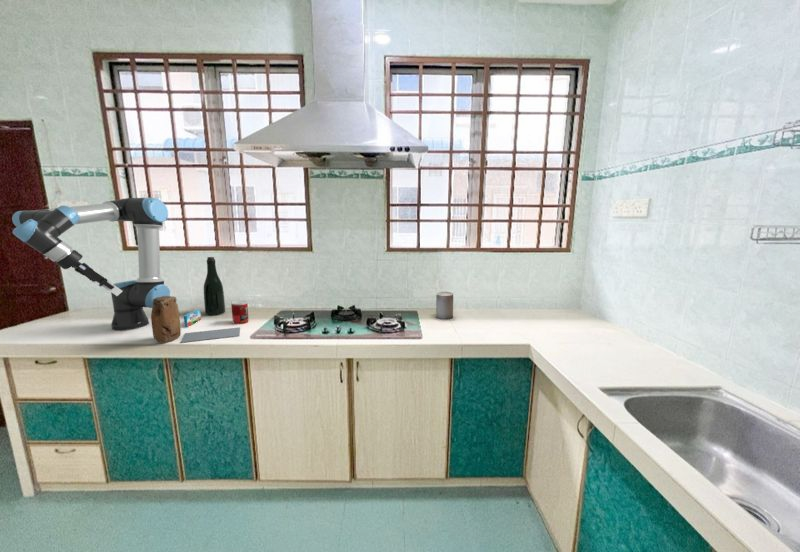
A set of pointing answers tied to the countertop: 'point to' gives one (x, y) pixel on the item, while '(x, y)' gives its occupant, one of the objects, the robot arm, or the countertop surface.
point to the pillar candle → (444, 305)
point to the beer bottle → (213, 290)
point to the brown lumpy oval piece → (165, 319)
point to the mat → (210, 335)
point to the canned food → (240, 312)
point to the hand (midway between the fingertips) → (115, 291)
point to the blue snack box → (192, 318)
